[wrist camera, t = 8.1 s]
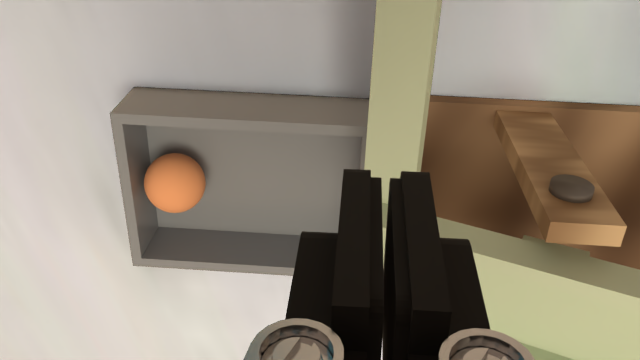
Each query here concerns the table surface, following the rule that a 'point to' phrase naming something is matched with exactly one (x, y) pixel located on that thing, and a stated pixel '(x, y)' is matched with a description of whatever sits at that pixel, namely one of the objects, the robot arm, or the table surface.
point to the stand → (539, 171)
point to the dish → (237, 174)
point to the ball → (174, 183)
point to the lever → (491, 247)
